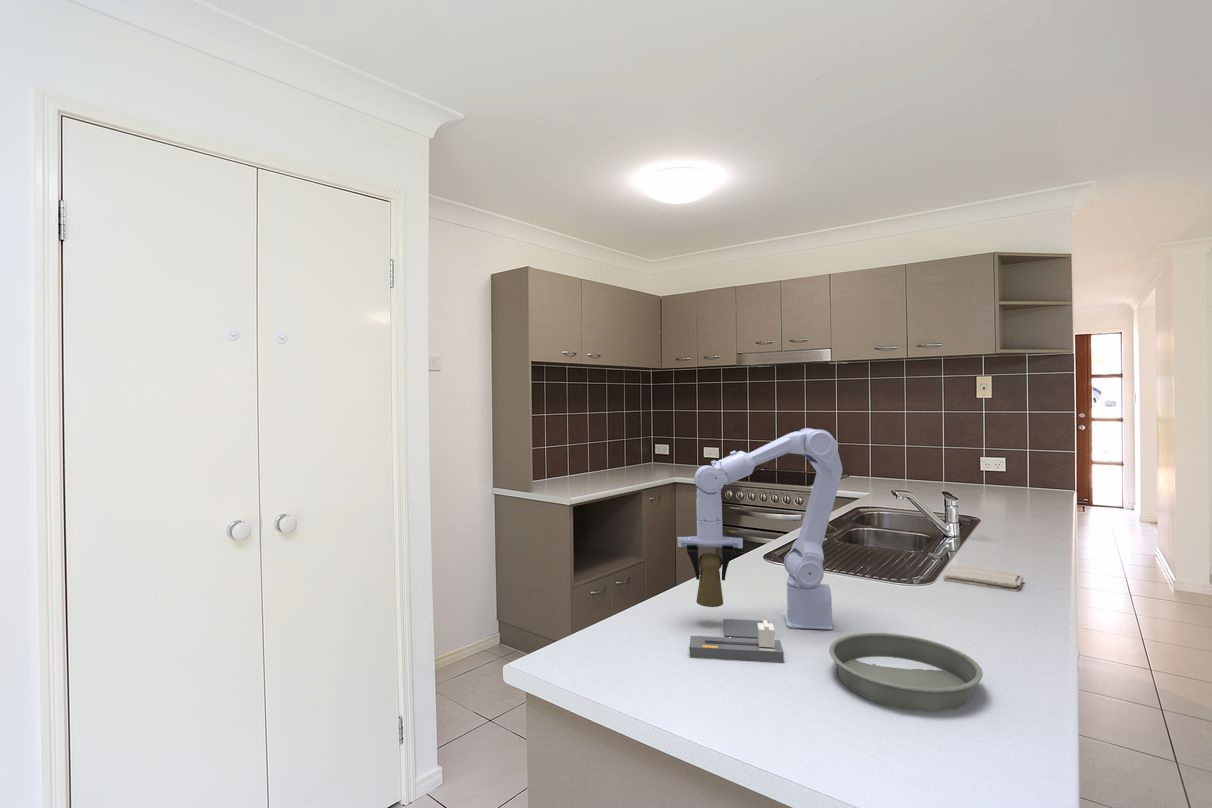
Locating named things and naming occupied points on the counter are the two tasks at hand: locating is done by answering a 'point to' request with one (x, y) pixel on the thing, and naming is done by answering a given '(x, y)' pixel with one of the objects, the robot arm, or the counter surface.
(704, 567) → the cork
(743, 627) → the slate mat
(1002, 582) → the washcloth
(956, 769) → the counter surface
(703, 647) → the switch bar
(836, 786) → the counter surface
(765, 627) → the switch tab
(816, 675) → the counter surface
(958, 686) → the cake pan
